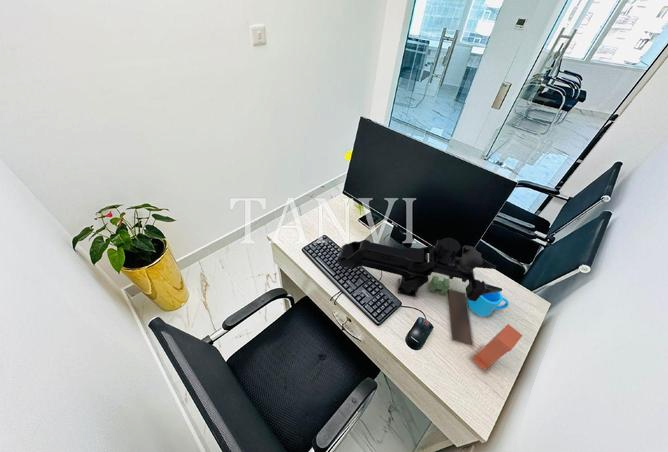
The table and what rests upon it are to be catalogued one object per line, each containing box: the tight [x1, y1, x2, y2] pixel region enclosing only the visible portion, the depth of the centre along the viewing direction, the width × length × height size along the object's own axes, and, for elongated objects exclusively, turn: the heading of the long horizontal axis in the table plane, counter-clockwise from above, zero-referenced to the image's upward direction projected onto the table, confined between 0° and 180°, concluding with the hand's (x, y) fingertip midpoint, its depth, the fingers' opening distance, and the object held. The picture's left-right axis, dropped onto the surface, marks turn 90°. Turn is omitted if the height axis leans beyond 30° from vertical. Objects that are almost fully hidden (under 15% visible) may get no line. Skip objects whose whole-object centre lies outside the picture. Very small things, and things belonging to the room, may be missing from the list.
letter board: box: [447, 289, 473, 346], centre depth 89 cm, size 6×20×1 cm, turn 165°
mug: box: [467, 283, 510, 317], centre depth 90 cm, size 12×8×8 cm
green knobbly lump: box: [429, 275, 451, 295], centre depth 96 cm, size 4×6×5 cm, turn 75°
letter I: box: [471, 323, 523, 372], centre depth 74 cm, size 4×6×16 cm, turn 127°
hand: (498, 278), depth 82 cm, fingers open, 9 cm apart
